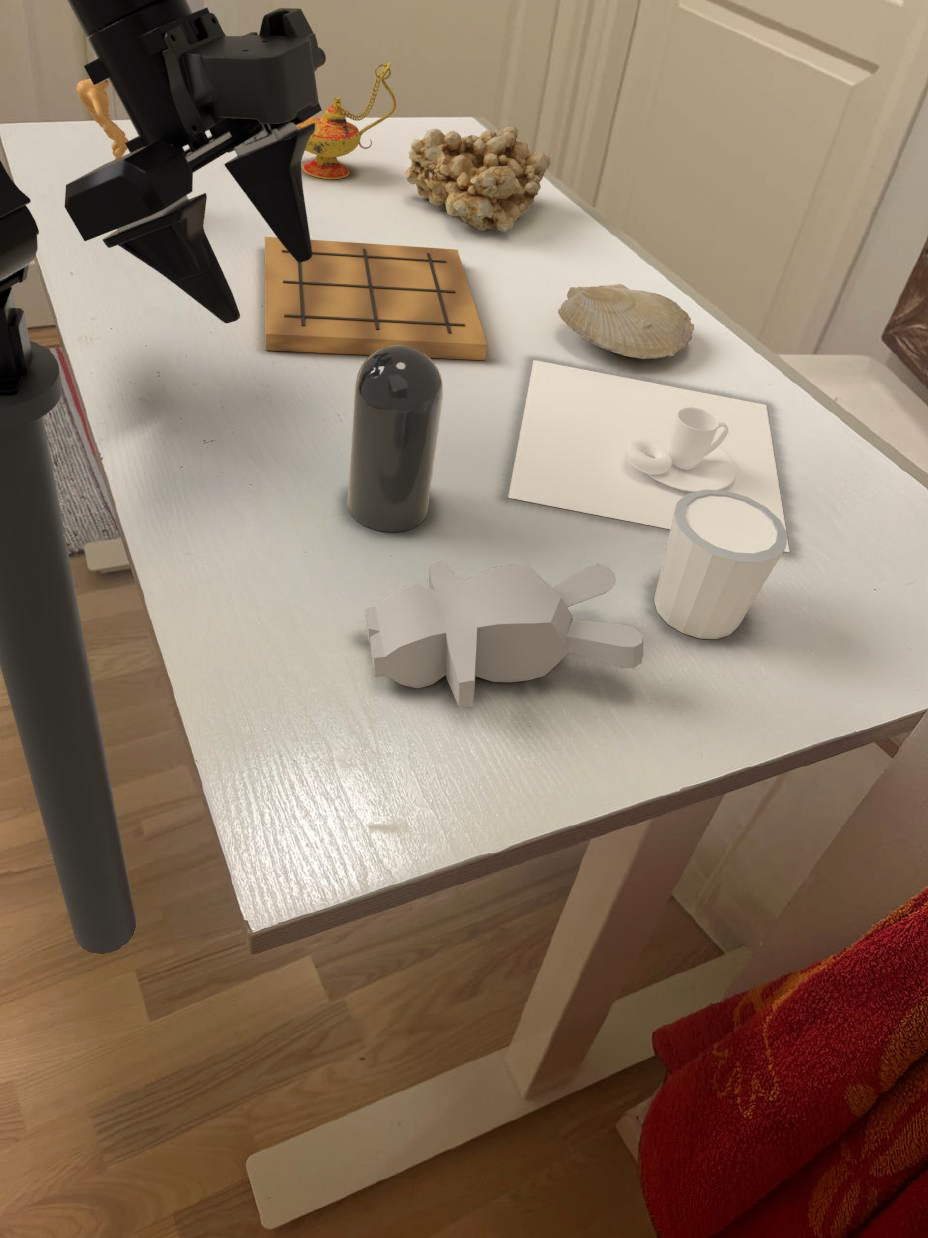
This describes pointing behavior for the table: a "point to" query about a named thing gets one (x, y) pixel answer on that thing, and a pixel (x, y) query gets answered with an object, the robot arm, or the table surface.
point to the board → (370, 300)
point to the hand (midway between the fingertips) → (271, 289)
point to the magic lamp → (339, 134)
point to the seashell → (627, 320)
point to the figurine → (102, 112)
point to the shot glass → (716, 561)
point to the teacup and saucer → (637, 446)
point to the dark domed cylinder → (394, 438)
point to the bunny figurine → (492, 628)
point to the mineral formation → (477, 175)
